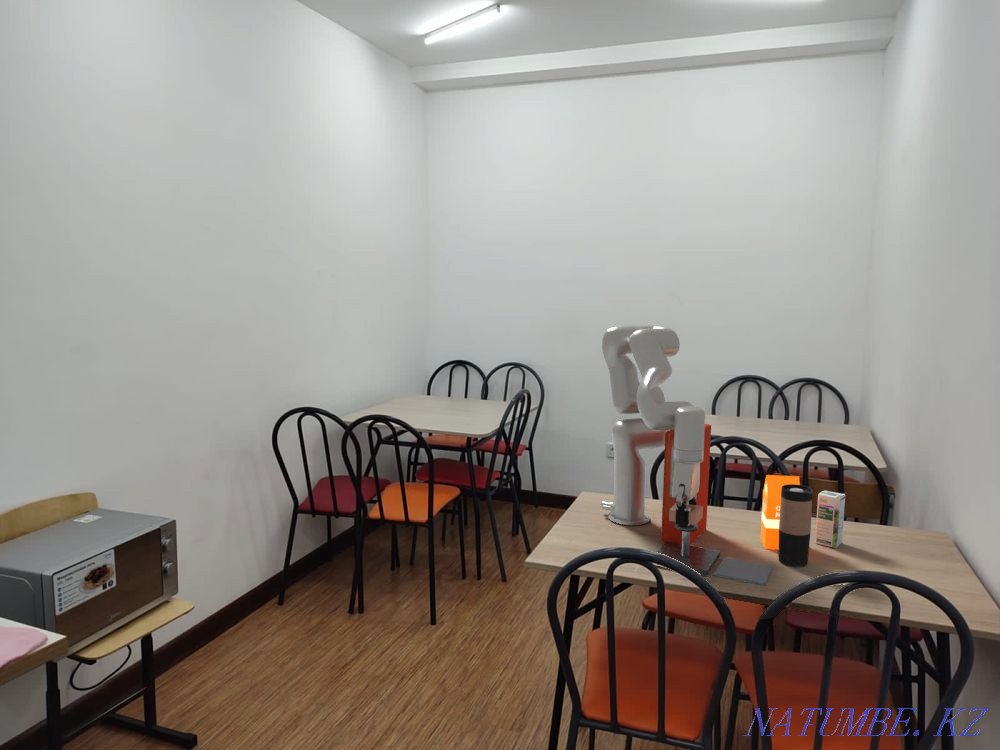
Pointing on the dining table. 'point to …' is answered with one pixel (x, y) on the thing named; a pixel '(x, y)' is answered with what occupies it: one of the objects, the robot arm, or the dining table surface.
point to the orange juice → (773, 508)
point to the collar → (694, 514)
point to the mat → (744, 571)
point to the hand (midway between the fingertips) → (685, 519)
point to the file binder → (668, 501)
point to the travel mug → (795, 525)
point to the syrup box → (830, 519)
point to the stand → (690, 551)
